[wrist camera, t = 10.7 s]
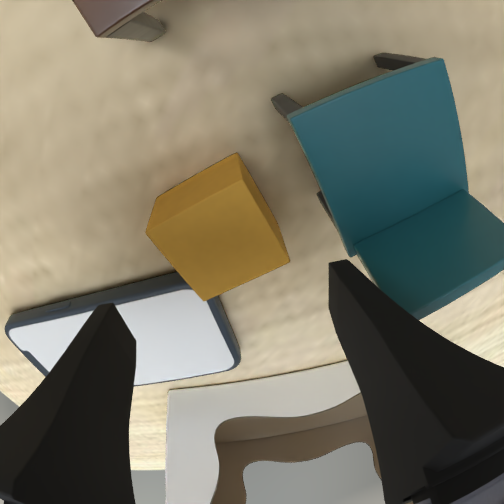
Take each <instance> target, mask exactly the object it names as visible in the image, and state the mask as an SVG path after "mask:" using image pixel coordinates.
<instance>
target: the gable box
mask: <svg viewBox="0 0 504 504" xmlns="http://www.w3.org/2000/svg"><path fill="white" fill-rule="evenodd" d="M355 442H363V443H366V444H368V445H369V446H370V448H371V450H372V453H373V461H374V467H375V470H376V472H377V474H378V476H379V478H380V479H381V473H380V468H379V463H378V458H377V453H376V448H375V443H374V439H373V435H372V431H371V427H370V423H369V419H368V415H367V412H366V408H365V404H364V401H363V397H362V395H361V392H360V389H359V386H358V384H357V381H356V379H355V377H354V374H353V372H352V369H351V367H350V365H349V362H348V361H344V362H340V363H336V364H331V365H327V366H322V367H318V368H313V369H309V370H304V371H299V372H294V373H289V374H283V375H278V376H272V377H267V378H261V379H255V380H248V381H242V382H235V383H228V384H220V385H212V386H204V387H195V388H185V389H174V390H170V391H169V392H168V399H167V423H166V469H165V474H166V475H165V477H166V478H165V483H166V484H165V487H166V488H165V489H166V504H246V490H245V486H244V482H243V470H244V468H245V467H246V466H247V465H249V464H250V463H253V462H256V461H274V462H285V463H290V462H291V463H292V462H302V461H308V460H312V459H316V458H319V457H321V456H323V455H326V454H328V453H330V452H332V451H334V450H336V449H338V448H340V447H343V446H345V445H348V444H351V443H355ZM381 480H382V479H381ZM407 504H413V501H412V502H410V503H407Z"/></svg>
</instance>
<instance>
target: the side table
mask: <svg viewBox="0 0 504 504" xmlns="http://www.w3.org/2000/svg"><path fill="white" fill-rule="evenodd" d="M72 1H73V2H74V4H75V5H76V7H77V8H78V10H79V12H80V13H81V15H82V16H83V18H84V19H85V21H86V22H87V24H88V25H89V27H90V28H91V30H92V32H93V33H94V35H95V36H96V37H99V38H104V37H106V38H118V39H129V40H139V41H147V42H152V41H154V40H155V39H157V38H158V37H160V36H162V35H163V34H165V33H166V31H165V29H164V27H163V26H162V24H161V23H160V21H159V20H158V19H156V18H154V17H152V16H151V15H149V14H147V13H145V12H144V11H145V10H147V9H149V8H150V7H152V6H154V5H155V4H157V3H159V2H160V1H162V0H72Z"/></svg>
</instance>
